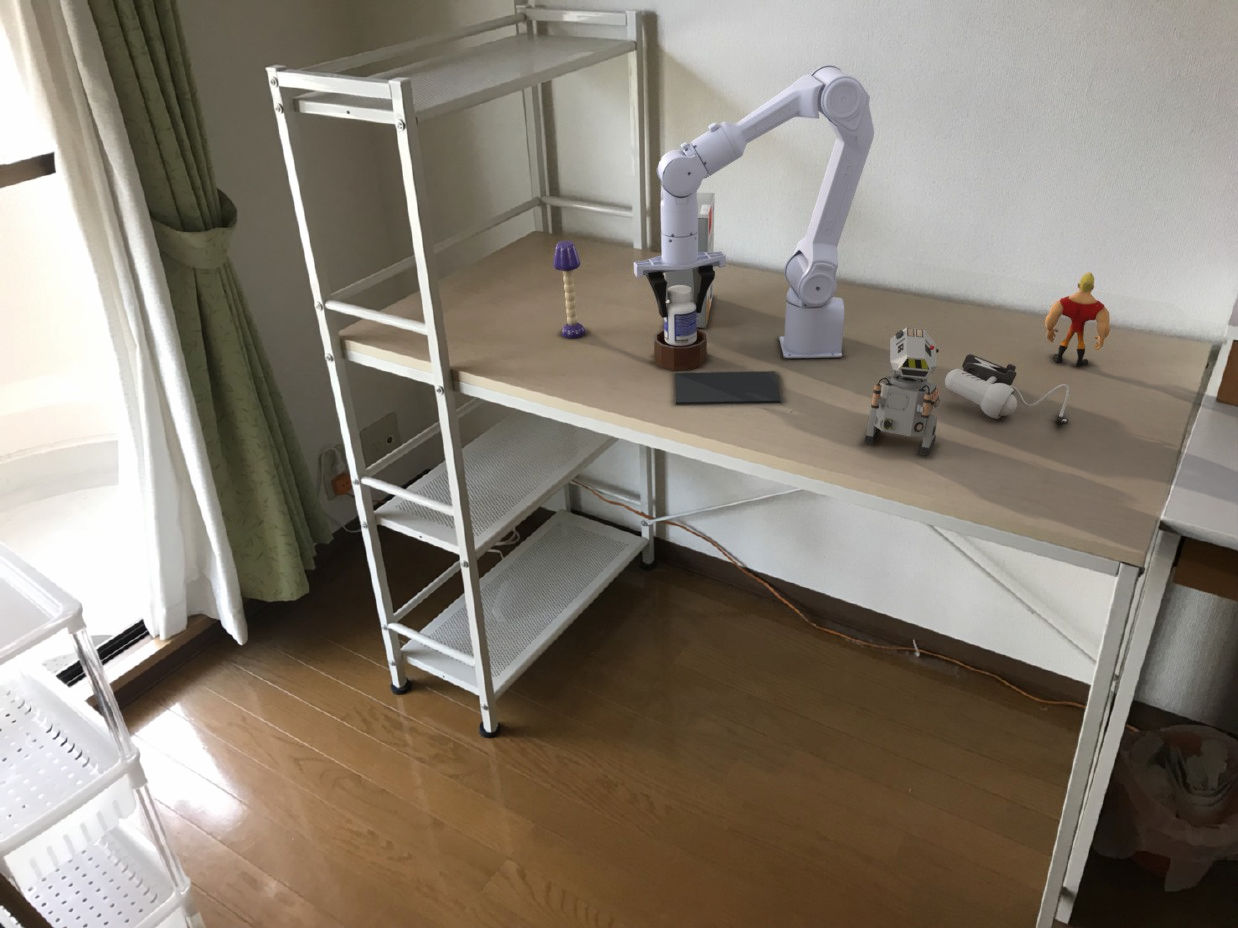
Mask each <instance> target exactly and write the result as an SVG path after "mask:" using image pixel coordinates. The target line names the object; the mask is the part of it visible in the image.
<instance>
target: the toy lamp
mask: <svg viewBox="0 0 1238 928" xmlns="http://www.w3.org/2000/svg"><path fill="white" fill-rule="evenodd" d="M580 266H581V260H580V257H579V254H578V252H577V248H576V246H575V243H574V242H573V241H571V240H562V241H559V242H557V243H556V245H555V250H554V255H553V262H552V267H553V268H554V270H556V271H560V272H562V274H563V278H562V279H563V283H564V285H563V289H564V291H565V292H564V298H565V308H566V315H567V317H566V322H567V323H565V324H564V325H563V327H562V329H561V336H562V337H564V338H566V339H578V338H581V337H583V336H585V335H586V329H585V327H584V326H583V324H581V323H580V322H578V317H577V311H578V310H577V308H576V307H577V302H576V292H575V283H574V281H575V277H574V275H573V274H574V270H577V269H578V268H580Z"/></svg>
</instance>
